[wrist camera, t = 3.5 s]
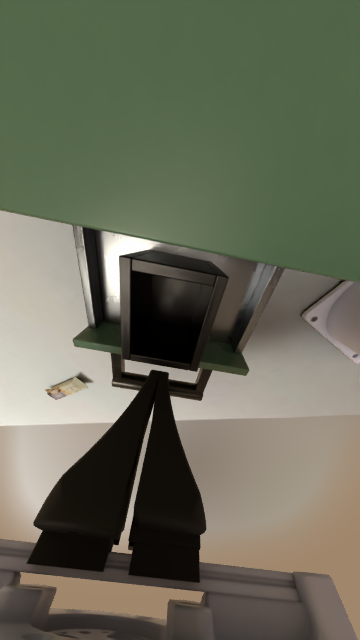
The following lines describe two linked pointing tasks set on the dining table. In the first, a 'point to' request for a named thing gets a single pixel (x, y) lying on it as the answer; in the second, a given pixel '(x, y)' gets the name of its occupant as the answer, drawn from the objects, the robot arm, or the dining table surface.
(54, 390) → the granola bar
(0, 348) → the dining table surface
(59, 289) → the dining table surface
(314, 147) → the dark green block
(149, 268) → the black tin
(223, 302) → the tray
